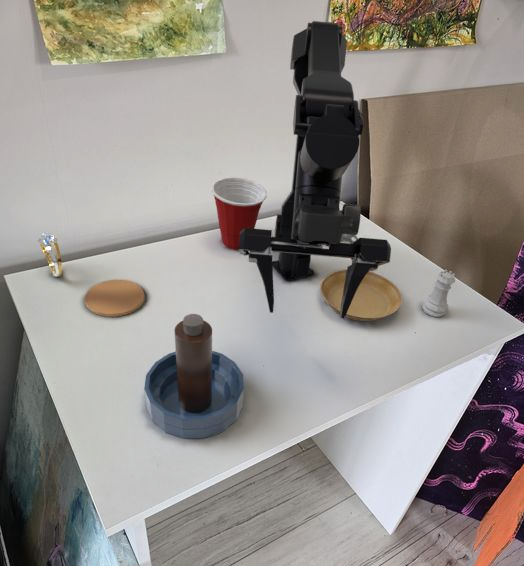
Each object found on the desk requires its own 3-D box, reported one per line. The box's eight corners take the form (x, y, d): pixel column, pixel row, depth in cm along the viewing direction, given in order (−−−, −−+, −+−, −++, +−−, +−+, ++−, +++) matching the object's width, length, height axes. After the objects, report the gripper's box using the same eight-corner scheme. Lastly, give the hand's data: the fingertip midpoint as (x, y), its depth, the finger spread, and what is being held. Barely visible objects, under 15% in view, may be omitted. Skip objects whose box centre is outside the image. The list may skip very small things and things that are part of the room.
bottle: (174, 394, 70) (168, 313, 60) (204, 385, 71) (203, 304, 61) (185, 417, 67) (181, 336, 57) (216, 407, 68) (218, 326, 59)
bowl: (135, 385, 71) (132, 363, 68) (219, 361, 76) (220, 339, 73) (165, 454, 63) (163, 432, 60) (257, 422, 68) (260, 400, 65)
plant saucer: (380, 340, 83) (384, 328, 81) (303, 307, 88) (305, 296, 86) (409, 298, 92) (413, 287, 90) (339, 271, 97) (341, 260, 96)
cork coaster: (79, 289, 87) (79, 286, 87) (135, 277, 91) (135, 275, 90) (92, 322, 81) (92, 319, 80) (152, 308, 84) (151, 306, 84)
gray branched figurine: (358, 235, 109) (374, 242, 101) (340, 255, 110) (354, 264, 102) (328, 204, 105) (342, 208, 97) (309, 225, 106) (322, 232, 98)
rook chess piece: (446, 319, 88) (462, 283, 83) (421, 315, 89) (435, 278, 83) (444, 305, 91) (459, 269, 86) (420, 301, 92) (433, 264, 87)
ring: (70, 282, 88) (61, 243, 83) (51, 286, 87) (41, 247, 81) (59, 263, 92) (50, 224, 87) (41, 267, 91) (31, 228, 86)
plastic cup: (244, 263, 97) (247, 206, 89) (200, 245, 101) (199, 189, 93) (272, 241, 104) (277, 187, 96) (230, 225, 108) (232, 171, 100)
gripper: (242, 167, 54) (231, 309, 55) (411, 182, 54) (396, 323, 55) (244, 191, 65) (235, 309, 66) (384, 203, 65) (372, 320, 67)
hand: (306, 315), depth 63 cm, fingers open, 9 cm apart
